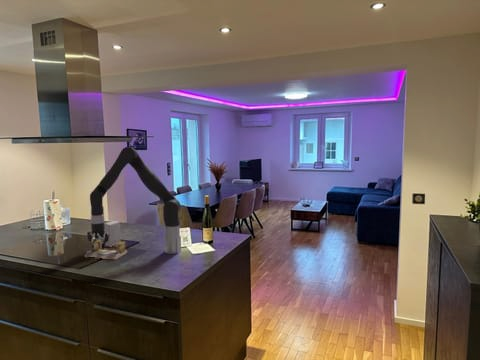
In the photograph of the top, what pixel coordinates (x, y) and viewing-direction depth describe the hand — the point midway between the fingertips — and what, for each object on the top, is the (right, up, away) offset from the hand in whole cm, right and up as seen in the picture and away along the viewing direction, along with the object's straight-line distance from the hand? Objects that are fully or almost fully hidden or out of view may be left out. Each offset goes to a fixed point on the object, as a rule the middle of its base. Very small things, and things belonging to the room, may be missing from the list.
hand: (98, 248), depth 195 cm
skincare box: (+2, -2, +16) cm, 16 cm away
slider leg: (0, -1, -1) cm, 2 cm away
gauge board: (+6, -3, -3) cm, 7 cm away
